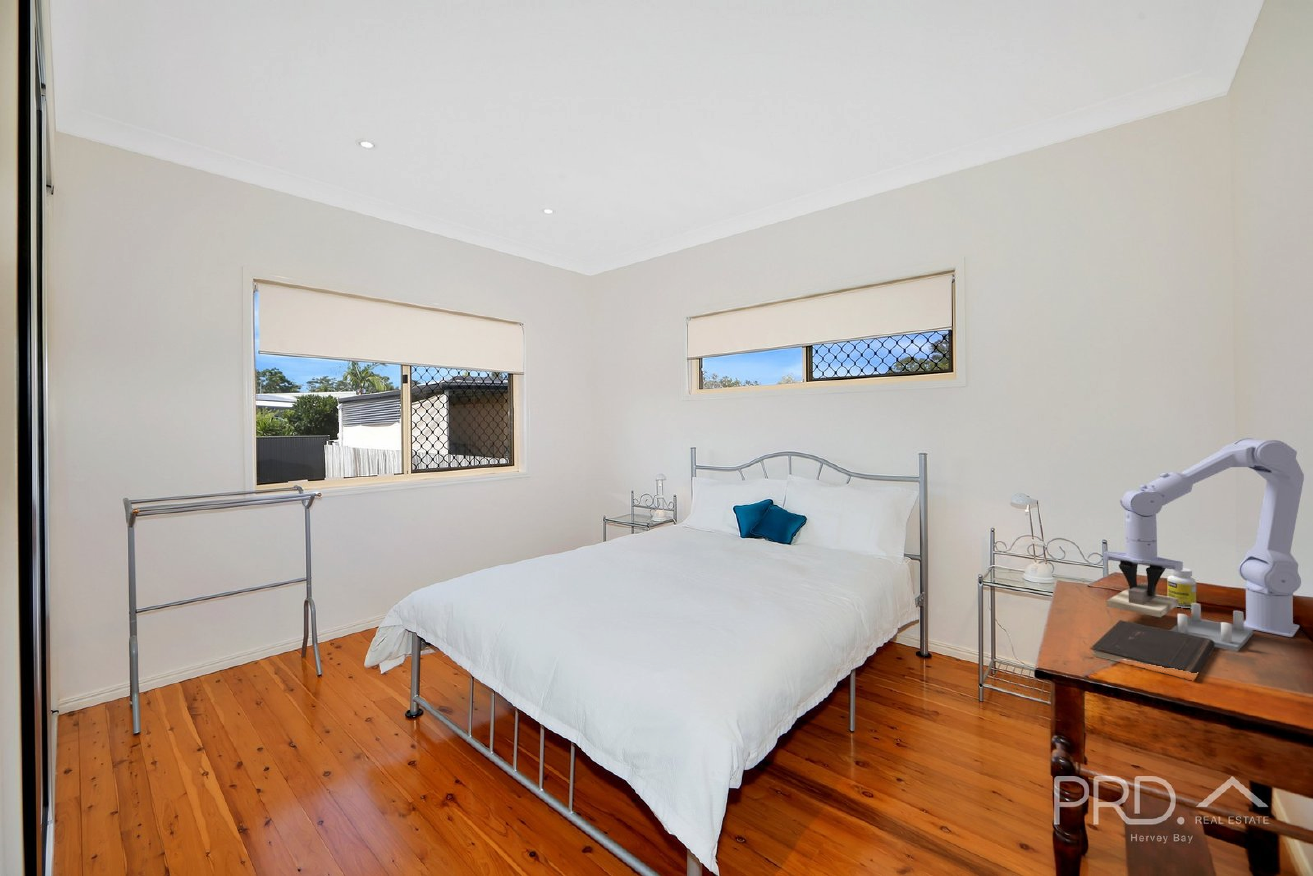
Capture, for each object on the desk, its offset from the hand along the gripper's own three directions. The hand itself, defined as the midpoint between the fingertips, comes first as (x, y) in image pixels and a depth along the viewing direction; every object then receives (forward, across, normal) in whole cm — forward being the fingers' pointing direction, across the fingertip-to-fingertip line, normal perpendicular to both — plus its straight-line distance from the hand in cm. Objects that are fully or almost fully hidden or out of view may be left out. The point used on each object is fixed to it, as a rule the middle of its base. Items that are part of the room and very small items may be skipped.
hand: (1142, 594), depth 134 cm
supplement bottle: (+7, +3, +19) cm, 20 cm away
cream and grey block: (+3, 0, 0) cm, 3 cm away
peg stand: (+7, +12, 0) cm, 14 cm away
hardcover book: (+7, +7, -20) cm, 22 cm away
